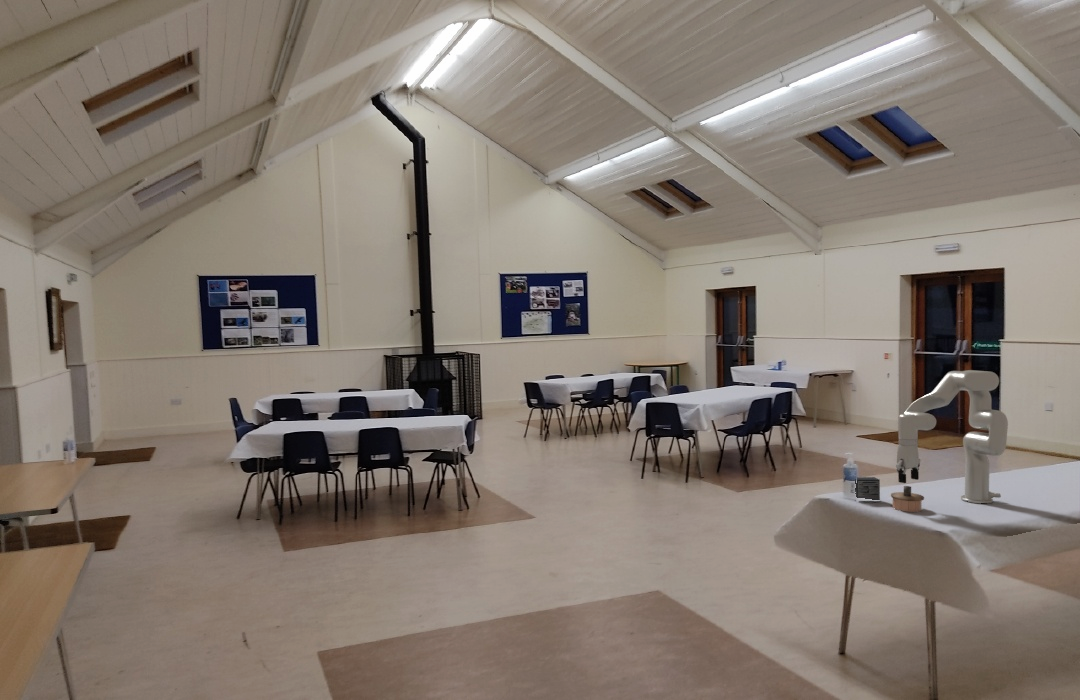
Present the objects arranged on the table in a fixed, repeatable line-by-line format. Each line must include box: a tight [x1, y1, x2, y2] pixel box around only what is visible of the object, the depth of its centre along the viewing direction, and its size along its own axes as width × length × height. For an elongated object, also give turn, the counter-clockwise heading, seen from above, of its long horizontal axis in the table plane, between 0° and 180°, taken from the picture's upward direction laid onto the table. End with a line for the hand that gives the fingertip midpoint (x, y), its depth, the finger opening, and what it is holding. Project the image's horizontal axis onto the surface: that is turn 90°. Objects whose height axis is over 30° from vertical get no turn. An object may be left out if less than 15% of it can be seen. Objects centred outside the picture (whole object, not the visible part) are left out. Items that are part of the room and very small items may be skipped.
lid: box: [890, 485, 925, 501], centre depth 323 cm, size 13×13×5 cm
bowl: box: [892, 498, 923, 513], centre depth 323 cm, size 11×11×5 cm
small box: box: [855, 476, 881, 501], centre depth 339 cm, size 11×6×10 cm, turn 88°
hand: (908, 480), depth 323 cm, fingers open, 9 cm apart
